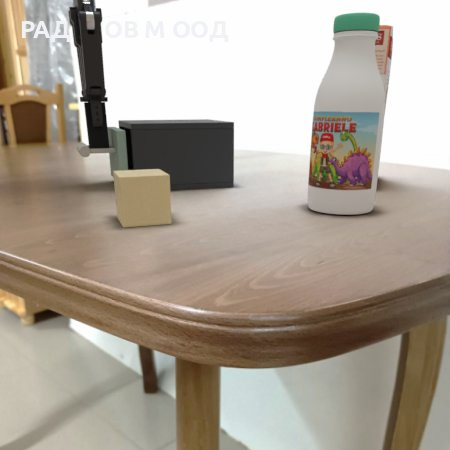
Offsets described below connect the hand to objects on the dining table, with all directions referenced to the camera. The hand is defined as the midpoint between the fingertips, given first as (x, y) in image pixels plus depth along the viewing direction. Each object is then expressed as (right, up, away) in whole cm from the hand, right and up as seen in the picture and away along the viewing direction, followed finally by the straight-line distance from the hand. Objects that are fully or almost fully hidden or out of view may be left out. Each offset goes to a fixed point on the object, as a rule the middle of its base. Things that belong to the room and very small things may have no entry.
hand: (99, 150), depth 70 cm
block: (+9, -13, -18) cm, 24 cm away
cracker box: (+39, -3, +6) cm, 39 cm away
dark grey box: (+10, -3, +6) cm, 12 cm away
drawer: (+6, -3, +4) cm, 8 cm away
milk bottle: (+32, -11, -13) cm, 36 cm away
